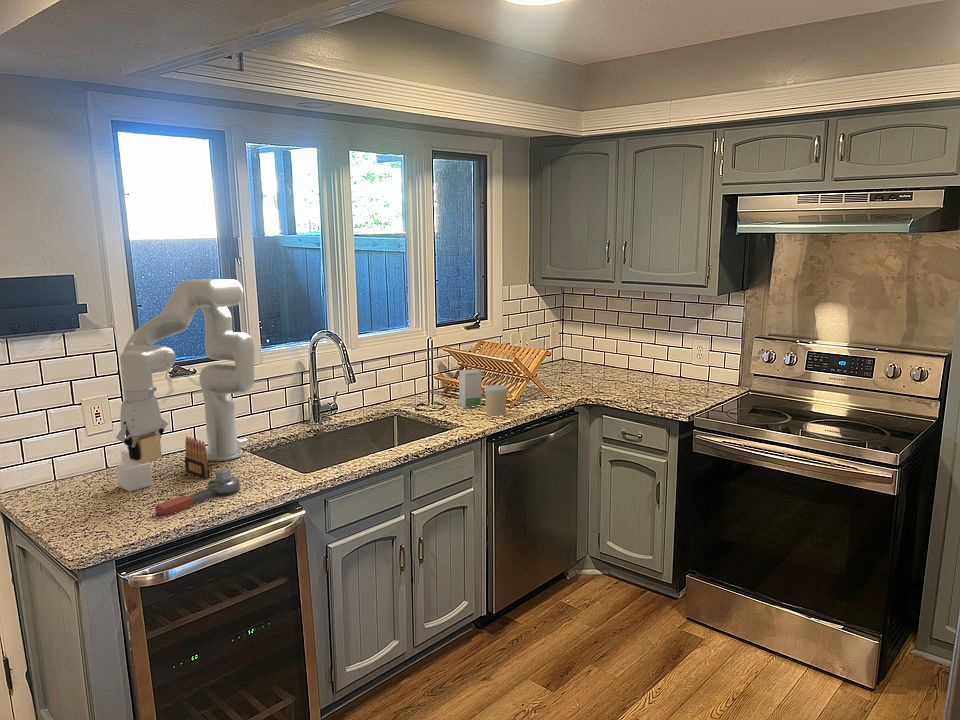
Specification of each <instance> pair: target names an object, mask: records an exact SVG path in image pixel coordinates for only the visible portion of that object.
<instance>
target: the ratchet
mask: <svg viewBox="0 0 960 720" xmlns="http://www.w3.org/2000/svg"><path fill="white" fill-rule="evenodd" d="M214 473H215V478H213V479H211V480H209V481H208V482H207V488H205V489H203V490H200V491H198V492H195V493H192V494H188V495H184V494H182V495H179V496H176V497H174V498H172V499H168V500H166V501H163V502H161V503H158V504H156V505H154V510H155V514H156V515H158V514H159V515H158V516H161V515H162V516H161V517H164V516H165V517H164V518H167V517H169V516H168V515H170V516H172V515H174V514H173V513H175V512H177V513H179V512H178V511H180V512H182V511H184V510H183V509H185V510H187V509H189V508H188V507H190V506H192V507H194V506H195V505H197V504H196V503H198V502H200V503H202V502H201V501H203V502H205V501H207V500H206V499H208V500H210V499H212V497H213V498H215V497H225V496H224V495H226V496H231V495H233V493H234V494H236V493H238V492H240V490H241V481H240V478H238V477H235V476H232V474H231V469H227V468H221V469H218V470H216V471H215V472H214ZM230 494H231V495H230ZM214 496H215V497H214ZM209 498H210V499H209ZM204 500H205V501H204ZM194 504H195V505H194ZM198 504H199V503H198ZM193 505H194V506H193ZM186 508H187V509H186ZM190 508H191V507H190ZM181 510H182V511H181ZM171 514H172V515H171ZM175 514H176V513H175ZM166 516H167V517H166Z"/></svg>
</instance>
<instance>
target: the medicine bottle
mask: <svg viewBox="0 0 960 720" xmlns="http://www.w3.org/2000/svg"><path fill="white" fill-rule="evenodd" d="M120 455H121V462H120V463H117V464H116V474H117V485H118V487H119V488H121V489H124V490H125V491H127V492H133V491H137V490H140V489H145V488H147V487H151V486H153V477H152V466H151V462H148V463H145V464H141V463H137V462H133V461H130V459H129V450H128V446H127V447H124V448H123V449H121V451H120Z"/></svg>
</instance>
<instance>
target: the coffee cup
mask: <svg viewBox="0 0 960 720" xmlns="http://www.w3.org/2000/svg"><path fill="white" fill-rule="evenodd" d="M507 394H508V387H507V386H505V385H501V384H491V385H490V384H489V385H485V387H484V398H485V413H486V414H487V415H490V416H500V415H504V414H505V415H506V412H507V410H506V409H507V398H508V397H507V396H508V395H507ZM487 415H486V416H487Z"/></svg>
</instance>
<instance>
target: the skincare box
mask: <svg viewBox="0 0 960 720" xmlns="http://www.w3.org/2000/svg"><path fill="white" fill-rule="evenodd" d="M458 374H459V375H458V376H459V378H458V379H459V380H458V381H459V382H458V383H459V388H458V393H459V395H458V398H459V399H458V405H459V407H461V406H462V408H463V407H464V408H463V409H468V408H467V407H472V406H477V405H481V406H482V393H483V391H482V388H483V387H482V381H483V380H482V377H483V373H482V371H481V370H478V369H461V370H459V373H458Z"/></svg>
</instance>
